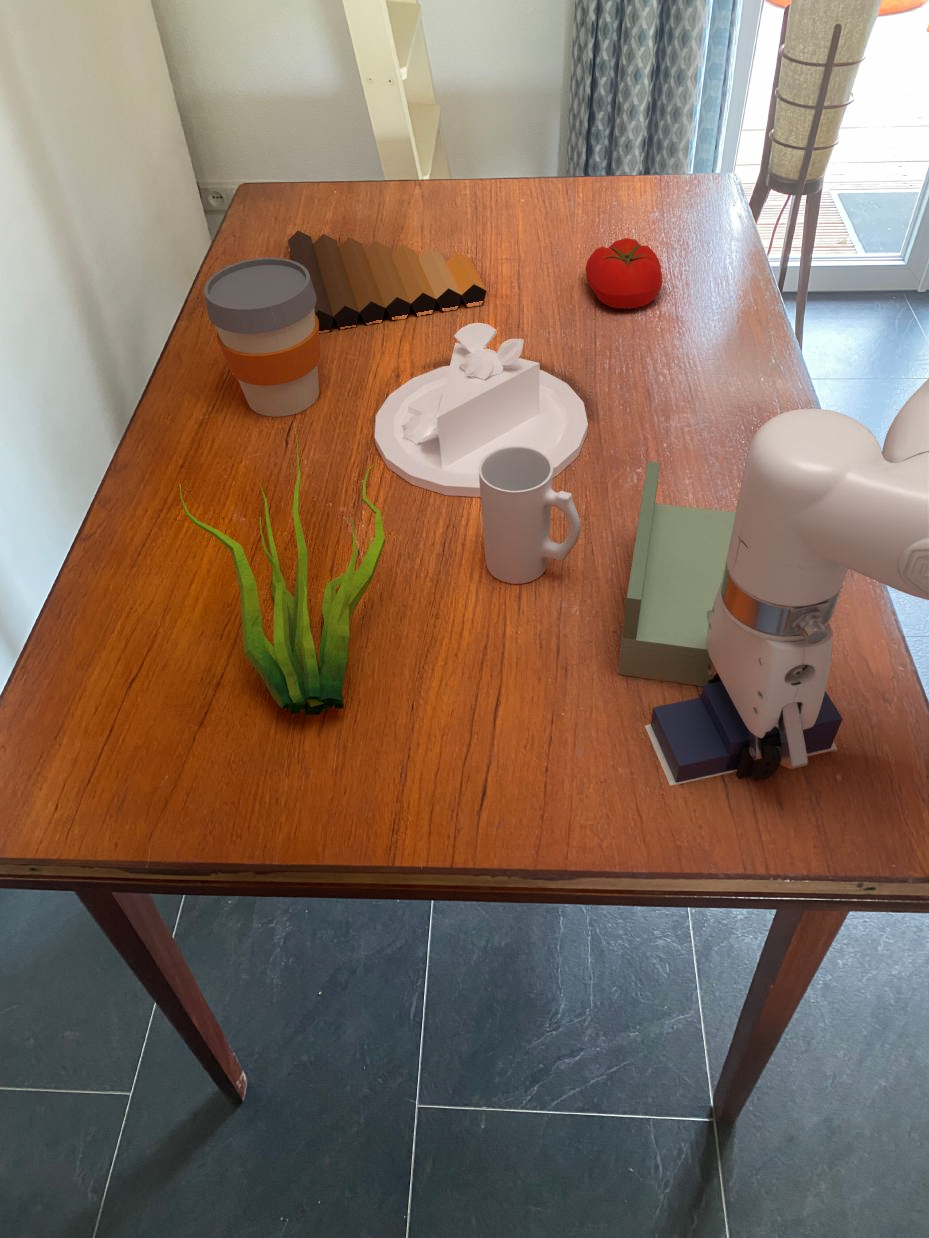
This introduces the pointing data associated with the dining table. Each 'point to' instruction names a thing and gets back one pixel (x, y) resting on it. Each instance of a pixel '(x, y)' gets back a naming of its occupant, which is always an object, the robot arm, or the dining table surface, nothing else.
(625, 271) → the tomato
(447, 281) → the pan flute
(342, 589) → the decorative plant
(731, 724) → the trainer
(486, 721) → the dining table surface
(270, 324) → the reusable coffee cup
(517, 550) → the mug
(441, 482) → the dish
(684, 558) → the sage stepped base
